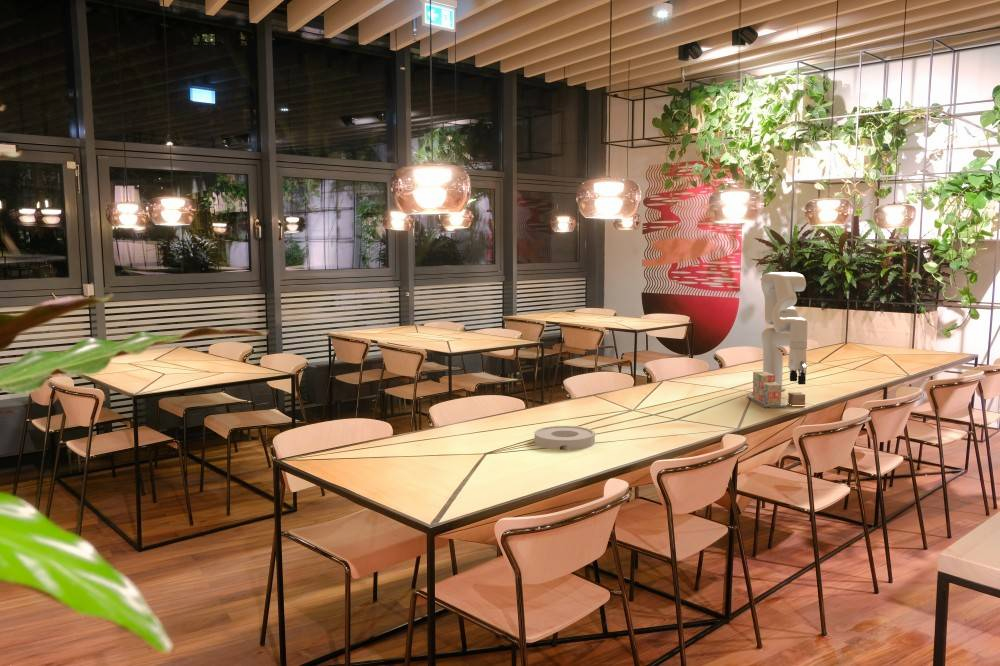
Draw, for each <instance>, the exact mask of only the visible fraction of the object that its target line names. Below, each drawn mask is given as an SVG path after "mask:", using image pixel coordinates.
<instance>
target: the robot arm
mask: <svg viewBox="0 0 1000 666" xmlns="http://www.w3.org/2000/svg"><path fill="white" fill-rule="evenodd" d="M760 280H761V281H760V285H761V289H762V293H763V297H764V321H765V323H766V324H767V325H769V326H773V327H768V328H765V329H763V331H762V333H761V341H762V342H761V343H762V353H763V354H762V372H765V371H766V372H768V373H770V374H773V375H775V382H776V383H778V384H780V385H782V390H781V392H783V391H785V390H786V387H785V386H784V385H783V371H784V369H783V367H784V366H783V364H784V363H783V362H784V357H783V352H782V351H781V350H780V349H779V347H780V348H781V347H789V354H788V362H787V363H788V365H787V367H788V369H789V381H790V382H797V384H798V385H806V381H807V380H806V378H807V377H806V375H807V368H808V367H807V349H808V323H809V322H808V320H807V319H806V318H804V317H802V316H799V313H798V309H797V307H794V306H795V305H796V304H797V301H798V298H797V294H796V292H804V291H805V289H806V287H807V281H806V278H805V276H804V275H803V274H801V273H799V272H796V271H791V272H789V271H772V272H771V271H770V272H766V273H764V274H762V276H761V279H760Z"/></svg>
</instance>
